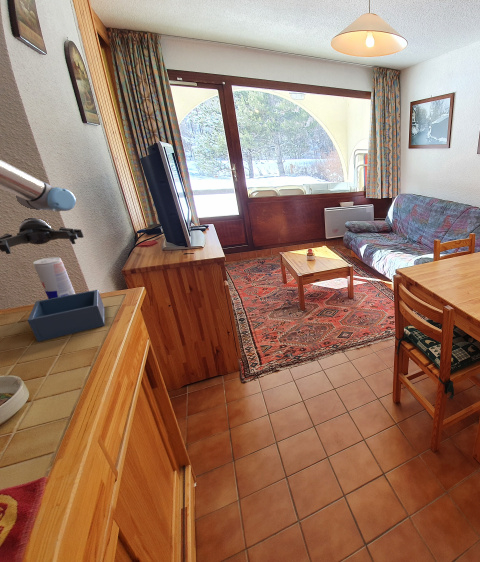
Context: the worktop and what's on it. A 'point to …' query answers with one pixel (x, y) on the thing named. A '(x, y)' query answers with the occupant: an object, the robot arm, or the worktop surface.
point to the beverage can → (53, 277)
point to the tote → (67, 315)
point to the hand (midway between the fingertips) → (41, 244)
